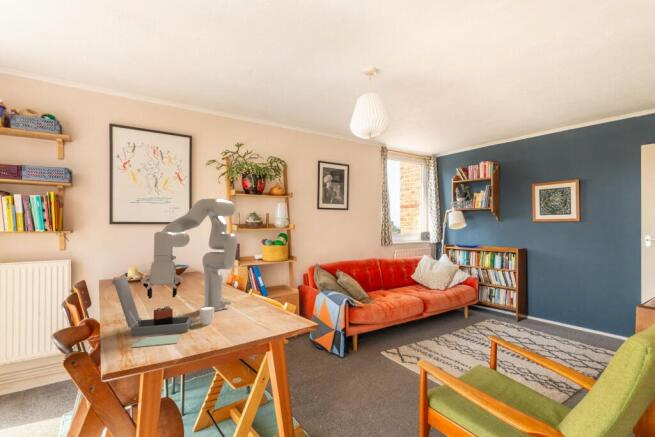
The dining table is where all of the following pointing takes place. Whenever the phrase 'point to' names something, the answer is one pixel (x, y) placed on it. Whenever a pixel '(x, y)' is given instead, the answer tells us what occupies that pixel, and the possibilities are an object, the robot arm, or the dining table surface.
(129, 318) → the case lid
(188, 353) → the dining table surface
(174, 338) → the rubber mat
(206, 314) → the shot glass
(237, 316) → the dining table surface
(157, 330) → the case
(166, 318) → the battery
